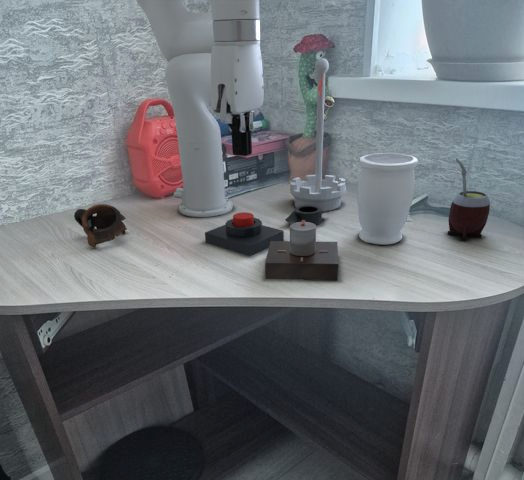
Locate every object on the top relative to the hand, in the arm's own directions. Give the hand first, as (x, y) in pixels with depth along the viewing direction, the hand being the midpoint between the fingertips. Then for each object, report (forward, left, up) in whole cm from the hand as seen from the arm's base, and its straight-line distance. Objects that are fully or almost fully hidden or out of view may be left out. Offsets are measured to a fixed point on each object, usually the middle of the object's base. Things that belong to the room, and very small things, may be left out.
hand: (242, 154), depth 87 cm
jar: (+23, +13, -17) cm, 31 cm away
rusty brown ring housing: (-27, -13, -17) cm, 34 cm away
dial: (+16, -7, -13) cm, 22 cm away
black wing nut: (+6, +15, -17) cm, 23 cm away
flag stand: (+2, +28, -17) cm, 33 cm away
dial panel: (+16, -7, -16) cm, 24 cm away
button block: (0, -1, -16) cm, 16 cm away
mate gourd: (+37, +21, -17) cm, 46 cm away
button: (0, -1, -13) cm, 13 cm away
